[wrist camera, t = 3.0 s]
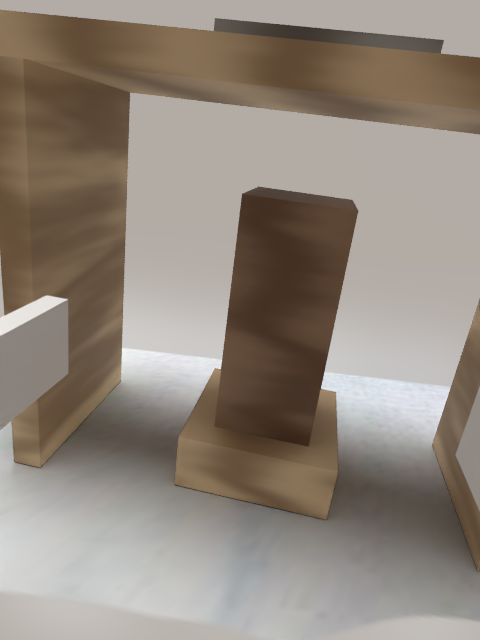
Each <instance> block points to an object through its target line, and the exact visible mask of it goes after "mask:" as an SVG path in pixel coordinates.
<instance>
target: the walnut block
mask: <svg viewBox="0 0 480 640" xmlns="http://www.w3.org/2000/svg"><path fill="white" fill-rule="evenodd" d="M357 214H358V210H357V208H356V206H355V204H354V202H353V201H352V200H348V199H341V198H334V197H327V196H320V195H313V194H306V193H299V192H292V191H285V190H277V189H271V188H264V187H257V188H255V189H253V190H250V191H248V192H246V193H243V194H242V200H241V209H240V217H239V225H238V233H237V242H236V251H235V259H234V267H233V275H232V283H231V292H230V300H229V308H228V317H227V325H226V334H225V342H224V350H223V359H222V367H221V375H220V383H219V392H218V400H217V409H216V417H215V425H214V427H218V428H223V429H227V430H232V431H237V432H242V433H246V434H251V435H256V436H260V437H265V438H270V439H275V440H279V441H284V442H289V443H293V444H298V445H303V446H308V447H309V442H310V437H311V432H312V428H313V423H314V418H315V413H316V409H317V404H318V399H319V394H320V390H321V385H322V380H323V376H324V371H325V365H326V361H327V357H328V351H329V347H330V342H331V338H332V332H333V328H334V323H335V318H336V313H337V309H338V304H339V299H340V295H341V289H342V285H343V280H344V275H345V271H346V266H347V262H348V257H349V252H350V247H351V243H352V237H353V233H354V228H355V223H356V219H357Z"/></svg>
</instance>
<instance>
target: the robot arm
mask: <svg viewBox="0 0 480 640" xmlns="http://www.w3.org/2000/svg"><path fill="white" fill-rule="evenodd" d="M68 373H69V372H68V299H64V298H58V297H53V296H48V295H46V296H44V297H42V298H40V299H38V300H36V301H34V302H32V303H30V304H28V305H26V306H24V307H22V308H19V309H17V310H15V311H13V312H11V313H9V314H7V315H5V316H3V317H1V318H0V430H1V429H2V428H3V427H4V426H6V425H7V424H8V423H9V422H10V421H12V420H13V419H14V418H15V417H17V416H18V415H19V414H20V413H21V412H23V411H24V410H25V409H26V408H27V407H29V406H30V405H31V404H32V403H33V402H35V401H36V400H37V399H38V398H39V397H41V396H42V395H43V394H44V393H46V392H47V391H48V390H49V389H50V388H52V387H53V386H54V385H55V384H56V383H58V382H59V381H60V380H61V379H62V378H64V377H65V376H66V375H67V374H68ZM455 455H456V457H457V460H458V462H459V464H460V467H461V469H462V471H463V474H464V476H465V478H466V481H467V483H468V485H469V488H470V490H471V492H472V495H473V497H474V499H475V502H476V504H477V506H478V509H479V511H480V387H479V390H478V392H477V395H476V398H475V401H474V404H473V407H472V409H471V412H470V415H469V418H468V421H467V423H466V426H465V429H464V432H463V435H462V438H461V440H460V443H459V446H458V449H457V452H456V454H455Z"/></svg>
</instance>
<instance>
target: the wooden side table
mask: <svg viewBox="0 0 480 640" xmlns="http://www.w3.org/2000/svg"><path fill="white" fill-rule="evenodd" d="M443 41H444V40H435V39H426V38H415V37H405V36H395V35H384V34H373V33H363V32H352V31H343V30H331V29H321V28H311V27H301V26H290V25H280V24H269V23H259V22H249V21H238V20H227V19H217V18H215V25H214V31H207V30H197V29H187V28H177V27H167V26H157V25H147V24H137V23H127V22H117V21H107V20H97V19H86V18H77V17H67V16H57V15H47V14H37V13H36V14H35V13H27V12H16V11H6V10H0V255H1V270H2V285H3V300H4V314H5V315H7V314H9V313H11V312H13V311H15V310H17V309H19V308H22V307H24V306H26V305H28V304H30V303H32V302H34V301H36V300H38V299H40V298H42V297H44V296H46V295H48V296H53V297H58V298H64V299H68V372H69V373H68V374H67V375H66V376H65V377H64V378H62V379H61V380H60V381H59V382H58V383H56V384H55V385H54V386H53V387H52V388H50V389H49V390H48V391H47V392H46V393H44V394H43V395H42V396H41V397H39V398H38V399H37V400H36V401H35V402H33V403H32V404H31V405H30V406H29V407H27V408H26V409H25V410H24V411H23V412H21V413H20V414H19V415H18V416H17V417H15V418H14V419H13V420H12V435H13V450H14V462H18V463H22V464H27V465H31V466H35V467H39V468H41V467H42V466H43V464H44V463H45V462H46V461H47V460H48V459H49V458H50V457H51V456H52V455H53V454H54V453H55V451H56V450H57V449H58V448H59V447H60V446H61V445H62V444H63V443H64V442H65V441H66V440H67V438H68V437H69V436H70V435H71V434H72V433H73V432H74V431H75V430H76V429H77V428H78V427H79V425H80V424H81V423H82V422H83V421H84V420H85V419H86V418H87V417H88V416H89V415H90V414H91V413H92V411H93V410H94V409H95V408H96V407H97V406H98V405H99V404H100V403H101V402H102V401H103V400H104V398H105V397H106V396H107V395H108V394H109V393H110V392H111V391H112V390H113V389H114V388H115V387H116V385H117V384H118V383H119V382H120V381H121V356H122V325H123V323H122V322H123V293H124V263H125V262H124V261H125V231H126V200H127V169H128V138H129V137H128V136H129V105H130V92H131V93H140V94H148V95H156V96H165V97H174V98H182V99H190V100H198V101H206V102H215V103H223V104H232V105H240V106H248V107H256V108H265V109H274V110H282V111H290V112H298V113H306V114H315V115H324V116H332V117H340V118H348V119H357V120H365V121H373V122H382V123H390V124H398V125H407V126H415V127H424V128H432V129H440V130H448V131H457V132H466V133H474V134H480V58H479V57H469V56H458V55H449V54H441V49H442V45H443ZM220 375H221V369H216V368H215V370H214V371H213V373H212V375H211V377H210V379H209V381H208V383H207V384H206V386H205V388H204V390H203V392H202V394H201V396H200V398H199V399H198V401H197V403H196V405H195V407H194V409H193V411H192V413H191V414H190V416H189V418H188V420H187V422H186V424H185V426H184V427H183V429H182V431H181V433H180V435H179V437H178V448H177V459H176V471H175V482H174V485H178V486H182V487H187V488H191V489H195V490H200V491H204V492H208V493H213V494H217V495H221V496H225V497H230V498H234V499H238V500H243V501H247V502H251V503H256V504H260V505H264V506H269V507H273V508H277V509H282V510H286V511H290V512H295V513H299V514H303V515H308V516H312V517H316V518H321V519H325V520H327V516H328V512H329V508H330V504H331V500H332V495H333V491H334V487H335V483H336V479H337V475H338V445H337V411H336V392H333V391H328V390H323V389H321V390H320V394H319V399H318V404H317V409H316V413H315V418H314V423H313V428H312V432H311V437H310V442H309V447H308V446H303V445H298V444H293V443H289V442H284V441H279V440H275V439H270V438H265V437H260V436H256V435H251V434H246V433H242V432H237V431H232V430H227V429H223V428H218V427H214V425H215V417H216V409H217V400H218V392H219V383H220ZM479 387H480V300H479V303H478V306H477V309H476V312H475V315H474V319H473V321H472V325H471V328H470V331H469V334H468V337H467V340H466V343H465V346H464V349H463V352H462V355H461V358H460V361H459V364H458V367H457V370H456V373H455V377H454V380H453V383H452V386H451V389H450V392H449V395H448V398H447V401H446V404H445V407H444V410H443V413H442V416H441V419H440V422H439V426H438V429H437V432H436V435H435V438H434V441H433V444H432V445H433V448H434V451H435V454H436V456H437V459H438V462H439V465H440V468H441V470H442V473H443V476H444V479H445V482H446V484H447V487H448V490H449V493H450V496H451V498H452V501H453V504H454V507H455V510H456V512H457V515H458V518H459V521H460V524H461V526H462V529H463V532H464V535H465V537H466V540H467V543H468V546H469V549H470V551H471V554H472V557H473V560H474V563H475V565H476V568H477V571H480V511H479V509H478V506H477V504H476V502H475V499H474V497H473V495H472V492H471V490H470V488H469V485H468V483H467V481H466V478H465V476H464V474H463V471H462V469H461V467H460V464H459V462H458V460H457V457H456V455H455V454H456V452H457V449H458V446H459V443H460V440H461V438H462V435H463V432H464V429H465V426H466V423H467V421H468V418H469V415H470V412H471V409H472V407H473V404H474V401H475V398H476V395H477V392H478V390H479Z"/></svg>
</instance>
